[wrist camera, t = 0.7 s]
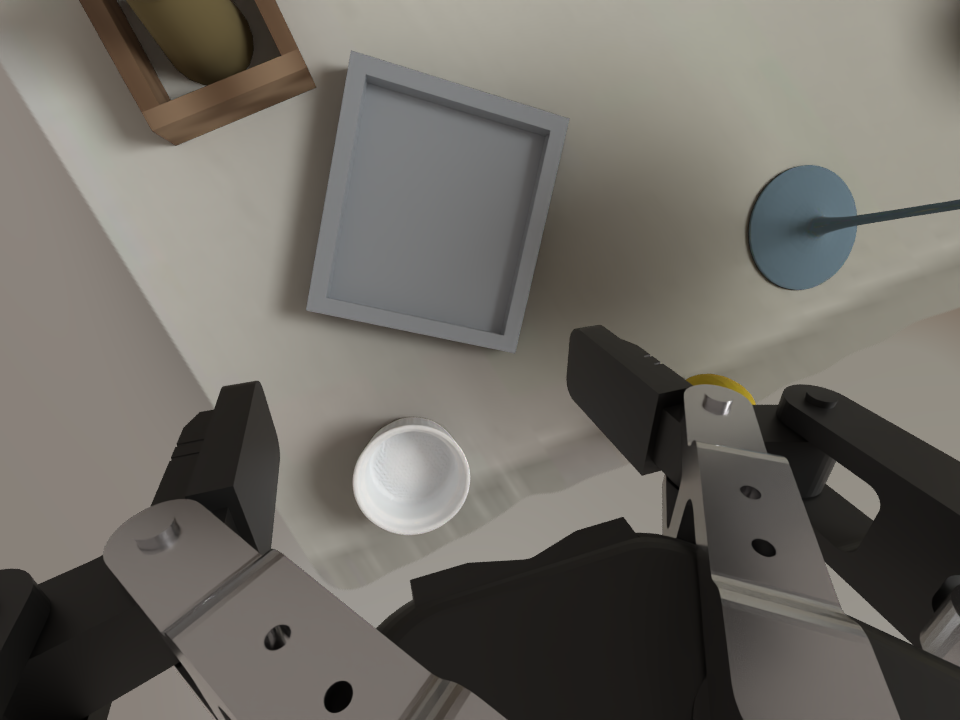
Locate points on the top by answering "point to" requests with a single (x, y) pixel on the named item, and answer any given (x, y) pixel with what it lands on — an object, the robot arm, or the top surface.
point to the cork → (199, 36)
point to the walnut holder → (209, 102)
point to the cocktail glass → (811, 226)
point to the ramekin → (411, 477)
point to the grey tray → (434, 206)
